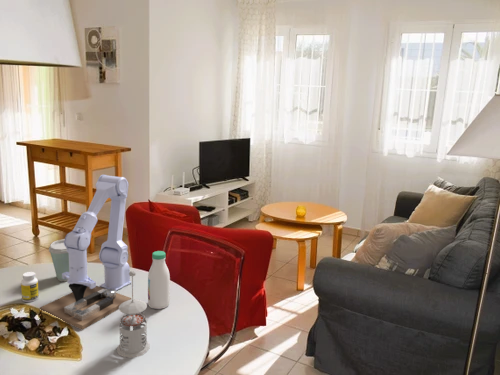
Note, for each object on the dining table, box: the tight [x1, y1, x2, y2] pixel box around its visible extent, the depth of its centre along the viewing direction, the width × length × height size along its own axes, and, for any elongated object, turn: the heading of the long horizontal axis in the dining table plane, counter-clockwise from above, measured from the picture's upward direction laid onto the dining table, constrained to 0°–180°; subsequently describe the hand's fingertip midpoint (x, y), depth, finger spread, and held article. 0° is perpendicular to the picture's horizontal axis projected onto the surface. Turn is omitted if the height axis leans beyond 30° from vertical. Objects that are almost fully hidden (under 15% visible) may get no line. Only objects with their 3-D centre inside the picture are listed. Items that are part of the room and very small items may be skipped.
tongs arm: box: [64, 288, 117, 316], centre depth 148 cm, size 18×6×2 cm, turn 150°
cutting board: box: [39, 285, 132, 331], centre depth 149 cm, size 22×21×2 cm
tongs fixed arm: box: [74, 297, 113, 320], centre depth 144 cm, size 14×4×2 cm, turn 152°
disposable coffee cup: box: [48, 238, 69, 282], centre depth 168 cm, size 11×11×15 cm
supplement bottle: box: [20, 271, 39, 303], centre depth 152 cm, size 5×5×10 cm
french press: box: [116, 270, 151, 359], centre depth 125 cm, size 10×12×25 cm
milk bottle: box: [147, 250, 171, 310], centre depth 151 cm, size 8×8×20 cm
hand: (79, 301), depth 147 cm, fingers closed
